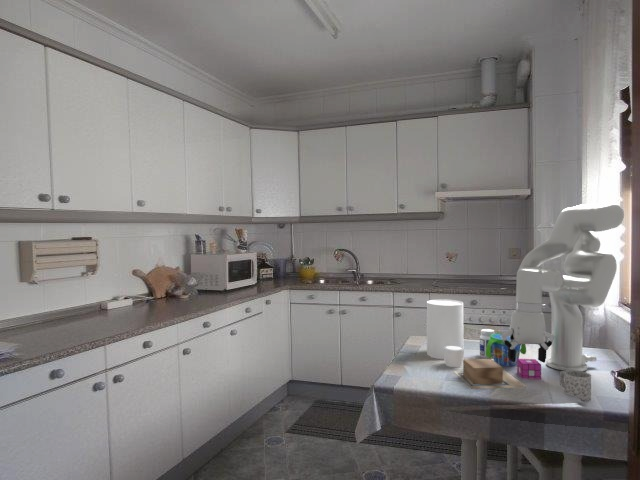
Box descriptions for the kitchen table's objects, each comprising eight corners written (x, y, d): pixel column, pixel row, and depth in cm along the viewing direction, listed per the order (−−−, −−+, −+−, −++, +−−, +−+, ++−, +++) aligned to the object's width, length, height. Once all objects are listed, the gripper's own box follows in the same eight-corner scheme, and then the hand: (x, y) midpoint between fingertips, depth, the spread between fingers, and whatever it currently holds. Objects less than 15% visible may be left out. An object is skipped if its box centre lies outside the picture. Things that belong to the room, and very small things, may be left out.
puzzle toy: (535, 376, 149) (535, 359, 149) (541, 382, 143) (541, 364, 143) (517, 375, 150) (517, 358, 150) (522, 381, 144) (522, 363, 144)
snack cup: (516, 359, 167) (516, 331, 167) (535, 368, 157) (535, 338, 157) (477, 362, 164) (477, 334, 164) (495, 371, 154) (495, 341, 153)
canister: (463, 360, 166) (463, 306, 166) (425, 358, 170) (425, 304, 169) (463, 350, 179) (463, 300, 179) (427, 348, 183) (427, 298, 182)
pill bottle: (497, 355, 172) (497, 329, 172) (494, 359, 168) (494, 332, 167) (481, 353, 175) (481, 327, 175) (478, 357, 171) (478, 330, 170)
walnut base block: (490, 373, 149) (490, 358, 148) (502, 383, 140) (502, 367, 139) (463, 374, 148) (463, 359, 148) (473, 384, 139) (473, 368, 139)
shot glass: (465, 371, 155) (465, 350, 154) (444, 370, 156) (444, 349, 156) (463, 365, 161) (463, 345, 161) (443, 364, 163) (443, 344, 163)
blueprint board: (503, 372, 152) (503, 369, 152) (527, 390, 136) (527, 386, 136) (453, 374, 152) (453, 370, 152) (471, 391, 136) (471, 387, 136)
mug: (596, 400, 129) (596, 376, 128) (576, 402, 127) (576, 378, 127) (570, 387, 138) (570, 366, 138) (551, 389, 137) (551, 367, 137)
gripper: (548, 306, 150) (546, 358, 150) (496, 305, 149) (495, 357, 149) (561, 310, 142) (559, 364, 142) (507, 309, 141) (505, 364, 142)
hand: (526, 361), depth 146 cm, fingers open, 9 cm apart
